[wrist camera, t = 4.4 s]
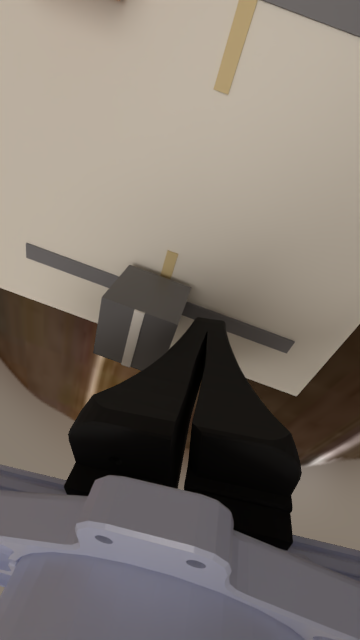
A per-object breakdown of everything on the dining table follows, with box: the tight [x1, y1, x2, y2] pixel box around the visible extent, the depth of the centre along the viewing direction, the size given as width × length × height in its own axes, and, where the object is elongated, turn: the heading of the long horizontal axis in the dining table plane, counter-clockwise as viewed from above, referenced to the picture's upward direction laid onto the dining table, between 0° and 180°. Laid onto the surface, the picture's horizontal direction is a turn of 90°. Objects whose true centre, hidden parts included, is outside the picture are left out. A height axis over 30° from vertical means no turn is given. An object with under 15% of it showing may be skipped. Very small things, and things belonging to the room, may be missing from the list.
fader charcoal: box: [93, 265, 191, 371], centre depth 13 cm, size 3×3×3 cm
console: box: [0, 0, 360, 396], centre depth 12 cm, size 18×17×2 cm
